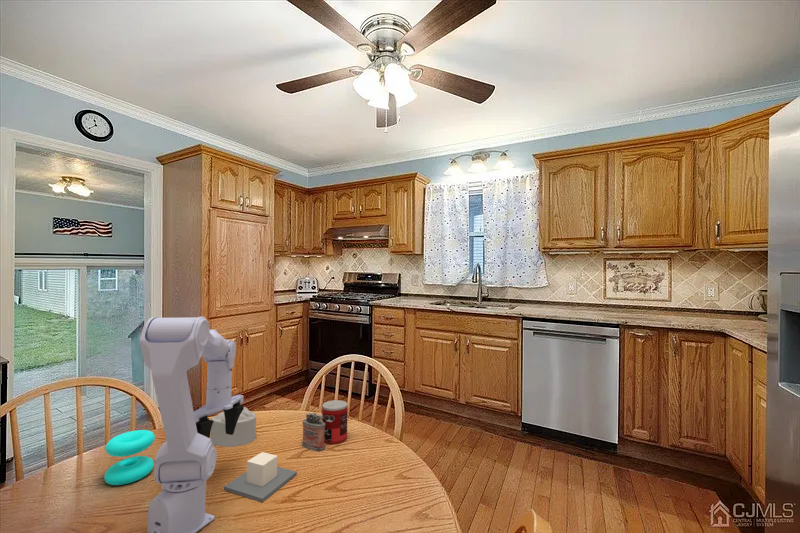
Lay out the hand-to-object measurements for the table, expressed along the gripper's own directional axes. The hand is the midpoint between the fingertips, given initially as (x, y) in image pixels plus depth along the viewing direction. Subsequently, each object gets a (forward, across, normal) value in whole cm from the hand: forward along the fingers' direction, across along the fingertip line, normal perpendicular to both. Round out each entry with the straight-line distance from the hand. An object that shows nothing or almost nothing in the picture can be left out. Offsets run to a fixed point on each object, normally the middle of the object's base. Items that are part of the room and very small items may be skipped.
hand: (217, 440), depth 88 cm
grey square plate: (+9, +3, -12) cm, 15 cm away
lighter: (+10, +23, -13) cm, 28 cm away
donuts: (+10, -8, +21) cm, 24 cm away
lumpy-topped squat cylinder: (+10, +18, +13) cm, 24 cm away
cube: (+9, +3, -12) cm, 15 cm away
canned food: (+10, +30, -16) cm, 35 cm away
